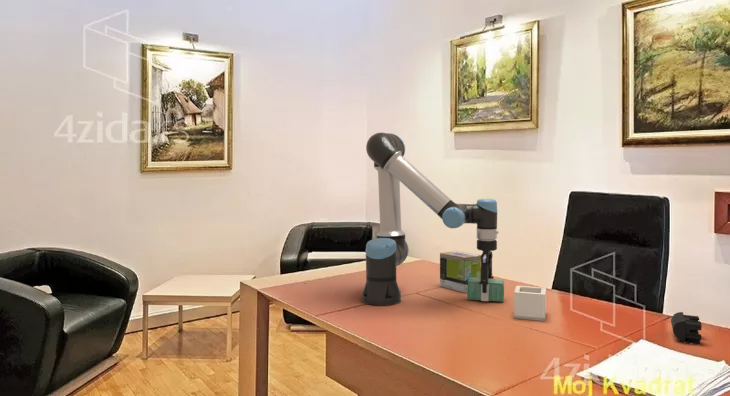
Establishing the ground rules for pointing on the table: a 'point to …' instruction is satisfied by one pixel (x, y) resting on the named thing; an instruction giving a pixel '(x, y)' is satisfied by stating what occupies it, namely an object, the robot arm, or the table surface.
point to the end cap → (686, 328)
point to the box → (494, 289)
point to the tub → (530, 303)
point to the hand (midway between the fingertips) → (486, 298)
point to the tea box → (458, 269)
